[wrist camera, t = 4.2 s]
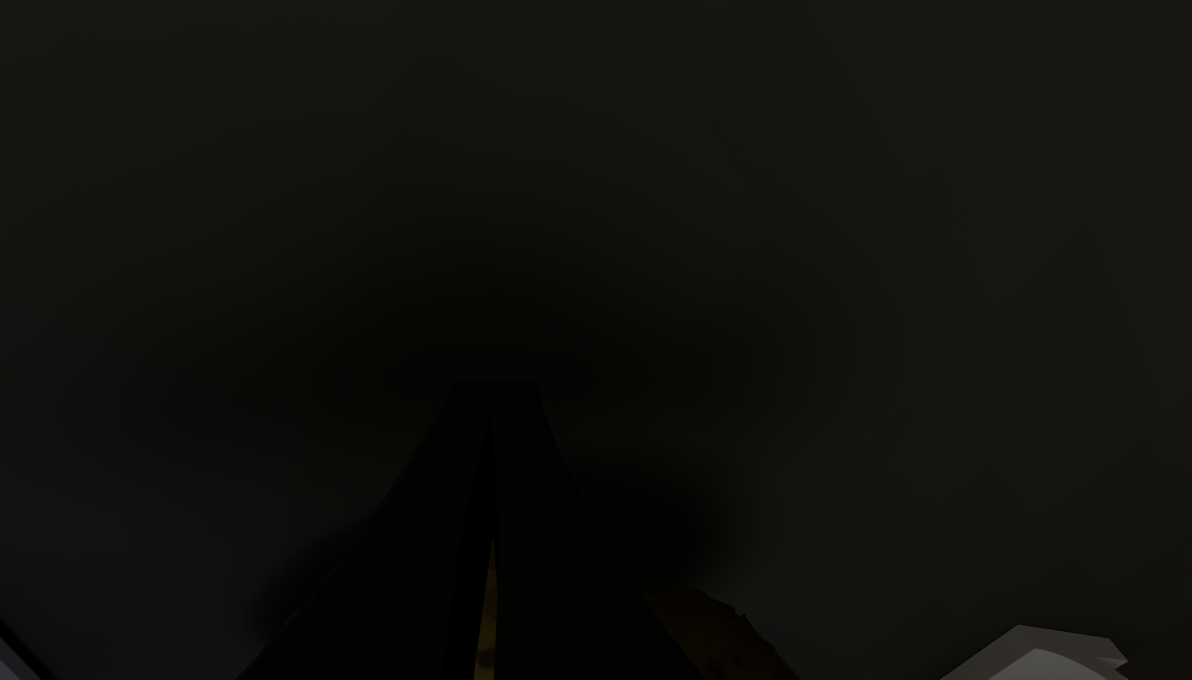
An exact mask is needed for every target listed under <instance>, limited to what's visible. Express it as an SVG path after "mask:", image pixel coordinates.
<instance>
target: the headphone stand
mask: <svg viewBox="0 0 1192 680" xmlns="http://www.w3.org/2000/svg"><path fill="white" fill-rule="evenodd" d="M1127 661H1128V660H1127V659H1126V658H1125V657H1124V656H1123V655H1122V653H1121V652H1120V651H1119V650H1118V649H1117V647H1116V646H1115V645H1114V644H1113V643H1112V641H1111V640H1110V639H1109V638H1102V637H1096V636H1089V635H1083V634H1076V633H1070V632H1063V631H1057V630H1050V629H1044V628H1037V627H1031V626H1024V625H1016V626H1015V627H1014V628H1012V629H1011V630H1009V631H1008V632H1006V633H1005V634H1004V635H1002V636H1001V637H999V638H998V639H997V640H995V641H994V642H992V643H991V644H989V645H988V646H987V647H985V648H984V649H982V650H981V651H980V652H978V653H977V654H975V655H974V656H972V657H971V658H970V659H968V660H967V661H965V662H964V663H963V664H961V665H960V666H958V667H957V668H955V669H954V670H953V671H951V672H950V673H948V674H947V675H946V676H944V677H943V678H941V679H940V680H1128V679H1127V678H1125V677H1124V676H1122V675H1121V674H1119V673H1118V672H1117V671H1115V670H1114V669H1115V668H1117V667H1119V666H1121V665H1122V664H1124V663H1126V662H1127Z"/></svg>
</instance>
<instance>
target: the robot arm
mask: <svg viewBox="0 0 1192 680" xmlns="http://www.w3.org/2000/svg"><path fill="white" fill-rule="evenodd" d="M493 529H494V546H495V562H496V579H497V617H496V639H495V661H494V680H706V679H705V678H704V677H703V675H702V674H701V673H700V672H699V670H698V669H697V668H696V667H695V665H694V664H693V663H692V662H691V660H690V659H689V658H688V656H687V655H686V654H685V653H684V651H683V650H682V649H681V648H680V646H679V645H678V644H677V643H676V641H675V640H674V639H673V638H672V636H671V635H670V634H669V633H668V631H667V630H666V628H665V627H664V626H663V624H662V623H661V622H660V620H659V619H658V617H657V616H656V615H655V613H654V612H653V610H652V609H651V608H650V606H649V605H648V603H647V602H646V601H645V599H644V598H643V596H642V595H641V594H640V592H639V591H638V589H637V588H636V586H635V585H634V583H633V582H632V580H631V579H630V577H629V576H628V574H627V573H626V571H625V570H624V568H623V567H622V565H621V564H620V562H619V560H618V559H617V557H616V556H615V554H614V552H613V551H612V549H611V548H610V546H609V544H608V543H607V541H606V539H605V538H604V536H603V534H602V533H601V531H600V529H599V527H598V526H597V524H596V522H595V520H594V519H593V517H592V515H591V513H590V512H589V510H588V508H587V506H586V504H585V502H584V501H583V499H582V497H581V495H580V493H579V491H578V489H577V487H576V485H575V483H574V481H573V479H572V477H571V475H570V473H569V471H568V469H567V466H566V464H565V462H564V460H563V458H562V456H561V454H560V451H559V449H558V447H557V445H556V442H555V440H554V437H553V435H552V432H551V429H550V427H549V424H548V422H547V419H546V416H545V413H544V410H543V406H542V403H541V399H540V395H539V389H538V386H536V385H535V384H534V383H533V382H532V381H497V382H453V383H452V384H451V385H450V386H449V387H447V390H446V392H445V395H444V397H443V399H442V401H441V404H440V406H439V408H438V410H437V412H436V414H435V416H434V418H433V420H432V421H431V423H430V425H429V427H428V429H427V431H426V432H425V434H424V436H423V438H422V440H421V441H420V443H419V445H418V446H417V448H416V450H415V451H414V453H413V455H412V456H411V458H410V459H409V461H408V463H407V464H406V466H405V467H404V469H403V471H402V472H401V474H400V475H399V477H398V479H397V480H396V482H395V483H394V485H393V486H392V488H391V489H390V491H389V492H388V494H387V495H386V497H385V498H384V500H383V501H382V502H381V504H380V505H379V507H378V508H377V509H376V511H375V512H374V514H373V515H372V517H371V518H370V519H369V521H368V522H367V524H366V525H365V526H364V528H363V529H362V531H361V532H360V533H359V535H358V536H357V538H356V539H355V540H354V542H353V543H352V544H351V546H350V547H349V548H348V549H347V551H346V552H345V553H344V555H343V556H342V557H341V559H340V560H339V561H338V562H337V564H336V565H335V566H334V567H333V569H332V570H331V571H330V572H329V574H328V575H327V576H326V577H325V579H324V580H323V581H322V582H321V583H320V585H319V586H318V587H317V588H316V590H315V591H314V592H313V593H312V594H311V596H310V597H309V598H308V599H307V600H306V602H305V603H304V604H303V605H302V606H301V608H300V609H299V610H298V611H297V612H296V613H295V614H294V616H293V617H292V618H291V619H290V620H289V621H288V622H287V623H286V624H285V626H284V627H283V628H282V629H281V630H280V631H279V632H278V633H277V635H276V636H275V637H274V638H273V639H272V640H271V641H270V642H269V644H268V645H267V646H266V647H265V648H264V649H263V650H262V651H261V653H260V654H259V655H258V656H257V657H256V658H255V659H254V660H253V661H252V662H251V664H250V665H249V666H248V667H247V668H246V669H245V670H244V671H243V672H242V673H241V674H240V675H239V676H238V677H237V679H236V680H474V673H475V664H476V657H477V649H478V642H479V634H480V627H481V619H482V612H483V604H484V597H485V589H486V582H487V574H488V566H489V559H490V551H491V544H492V536H493ZM0 680H41V679H40V677H39V676H38V675H37V674H36V673H35V672H34V671H33V670H32V669H31V668H30V667H29V666H28V665H27V664H26V663H25V662H24V661H23V660H22V659H21V658H20V657H19V656H18V655H17V654H16V653H15V651H14V650H13V649H12V648H11V647H10V646H9V645H8V644H7V643H6V642H5V641H4V640H3V639H2V638H1V637H0Z"/></svg>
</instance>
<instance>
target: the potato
mask: <svg viewBox="0 0 1192 680" xmlns="http://www.w3.org/2000/svg"><path fill="white" fill-rule="evenodd" d="M620 564H621V565H622V567H623V568H624V570H625V571H626V573H627V574H628V576H629V577H630V579H631V580H632V582H633V583H634V585H635V586H636V588H637V589H638V591H639V592H640V594H641V595H642V596H643V598H644V599H645V601H646V602H647V603H648V605H649V606H650V608H651V609H652V610H653V612H654V613H655V615H656V616H657V617H658V619H659V620H660V622H661V623H662V624H663V626H664V627H665V628H666V630H667V631H668V633H669V634H670V635H671V636H672V638H673V639H674V640H675V641H676V643H677V644H678V645H679V646H680V648H681V649H682V650H683V651H684V653H685V654H686V655H687V656H688V658H689V659H690V660H691V662H692V663H693V664H694V665H695V667H696V668H697V669H698V670H699V672H700V673H701V674H702V675H703V677H704V678H705V679H706V680H800V679H799V678H798V676H797V675H796V674H795V672H794V671H793V670H792V669H791V668H790V667H789V666H788V665H787V663H786V662H785V661H784V660H783V659H782V658H781V657H780V656H779V655H778V654H777V652H776V651H775V648H774V645H772V644H770V643H769V642H767V641H765V640H763V639H762V637H761V636H760V635H759V634H758V633H757V631H756V630H755V629H754V628H753V627H752V625H751V624H750V623H749V622H748V620H747V618H746V616H745V614H744V615H741V616H740V617H739V616H738V615H737V614H735V608H734V607H732V606H730V605H727V604H725V603H722V602H720V601H717V600H714V599H712V598H710V597H708V596H707V595H706V593H704V592H701V591H699V590H697V589H694V588H692V587H690V586H688V581H687V580H682V579H677V578H672V577H667V576H664V575H662V574H660V573H658V572H657V571H655V570H651V569H648V568H644V567H640V566H635V565H630V564H626V563H621V562H620ZM300 608H301V607H300ZM300 608H299V609H300ZM299 609H298V610H299ZM298 610H297V611H298ZM297 611H296V612H297ZM296 612H295V613H296ZM295 613H294V614H295ZM294 614H293V615H292V616H291V617H290V618H289V619H288V620H287V621H286V622H285V624H286V623H287V622H288V621H289V620H290V619H291V618H292V617H293V616H294ZM496 617H497V579H496V562H495V546H494V539H492V544H491V551H490V559H489V566H488V574H487V582H486V589H485V597H484V604H483V612H482V619H481V627H480V634H479V642H478V649H477V657H476V664H475V673H474V680H494V661H495V639H496ZM285 624H284V625H283V626H282V627H281V628H280V630H281V629H282V628H283V627H284V626H285ZM280 630H279V631H280ZM279 631H278V632H279ZM278 632H277V633H278ZM277 633H276V635H277ZM276 635H275V636H276ZM275 636H274V637H275ZM274 637H273V638H274Z"/></svg>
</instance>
